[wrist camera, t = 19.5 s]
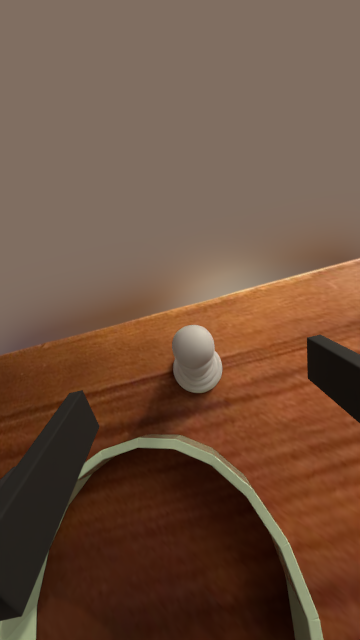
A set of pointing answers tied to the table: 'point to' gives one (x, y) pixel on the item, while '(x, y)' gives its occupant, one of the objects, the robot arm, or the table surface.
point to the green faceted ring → (20, 633)
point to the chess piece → (195, 359)
